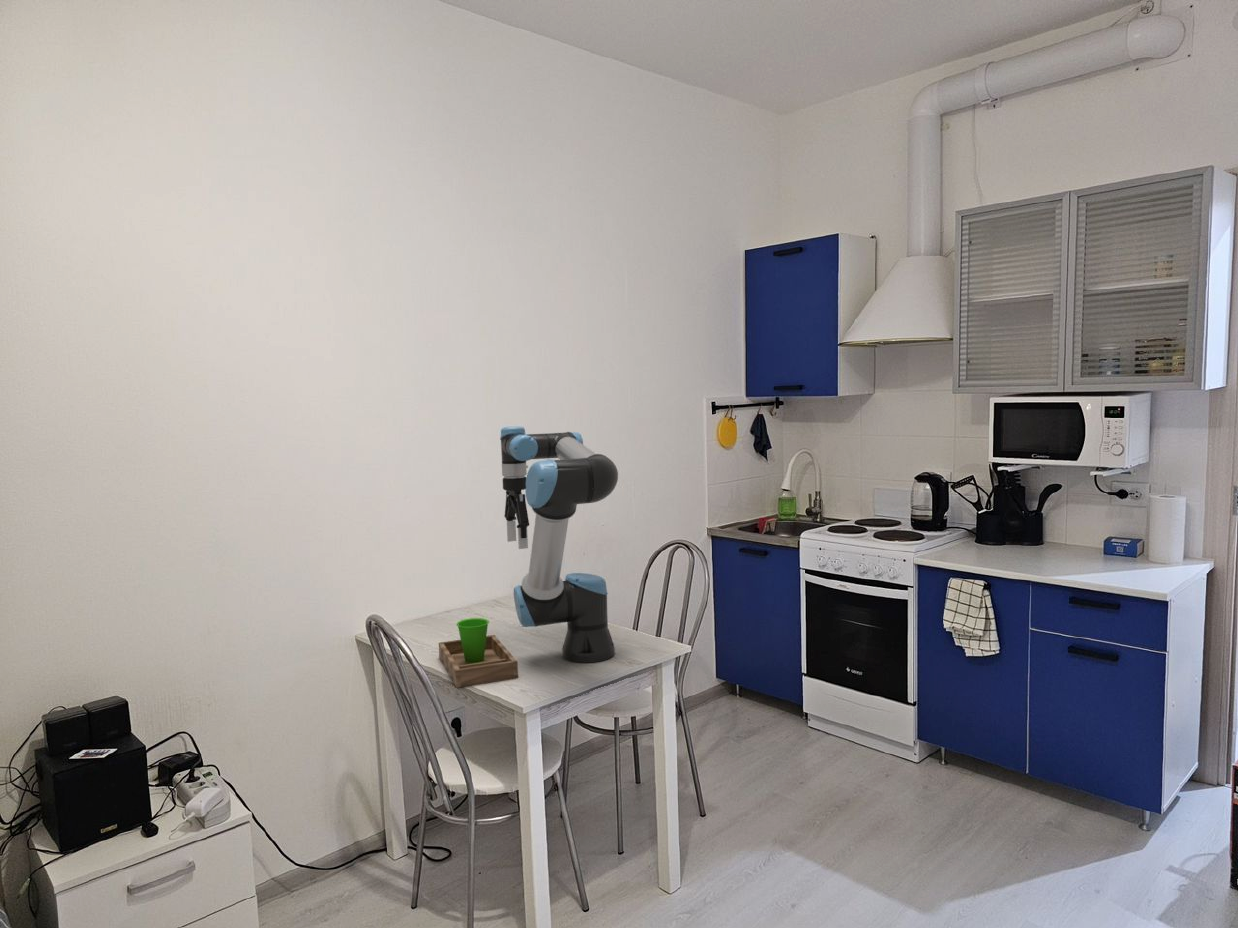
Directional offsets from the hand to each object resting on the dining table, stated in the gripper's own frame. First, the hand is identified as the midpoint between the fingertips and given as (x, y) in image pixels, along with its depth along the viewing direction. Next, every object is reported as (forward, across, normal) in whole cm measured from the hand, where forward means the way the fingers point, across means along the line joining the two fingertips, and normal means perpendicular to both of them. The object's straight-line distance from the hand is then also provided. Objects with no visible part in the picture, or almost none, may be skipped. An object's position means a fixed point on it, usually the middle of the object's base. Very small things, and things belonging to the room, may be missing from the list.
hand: (517, 544), depth 253 cm
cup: (+28, -20, +19) cm, 39 cm away
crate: (+29, -24, +19) cm, 42 cm away
